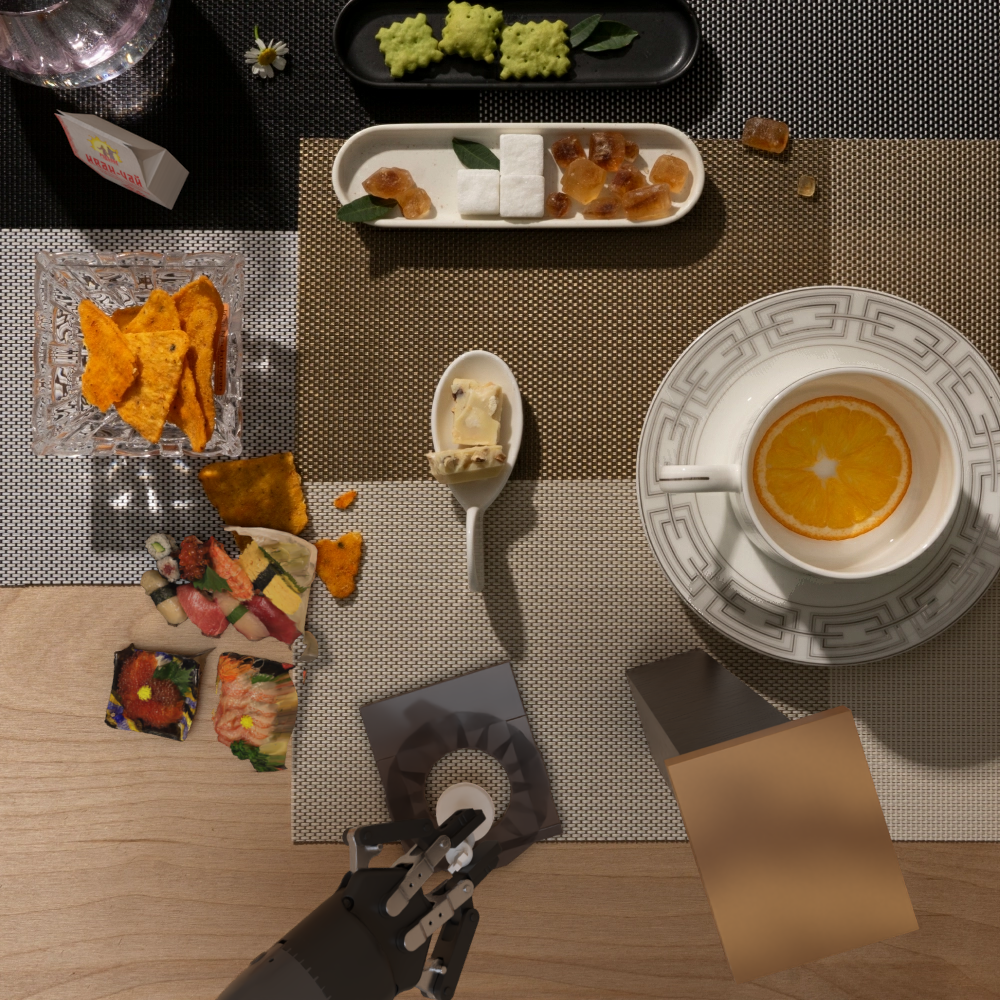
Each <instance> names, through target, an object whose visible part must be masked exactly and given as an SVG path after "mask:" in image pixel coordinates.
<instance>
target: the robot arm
mask: <svg viewBox="0 0 1000 1000" xmlns="http://www.w3.org/2000/svg"><path fill="white" fill-rule="evenodd" d="M485 820H486V817H485V815H484V813H483V811H482V809H477V810H474V809H473V808H468V809H460V810H457V811H455V812H454V813H453V814H452V815H451V816H450V817H449V818H448V819H446V820H445V821H444V822H443V823H442V824H441V825H440V826H439V827H438V828H436V829H435V828H434V826H433V823H432V821H431V820H430V819H428V818H424V819H416V820H413V819H408V820H400V821H393V822H392V821H387V822H379V823H369V824H364V825H356V826H348V827H346V828H345V829H344V830H343V832H342V835H341V839H342V842H343V844H344V845H345V846H347V847H348V853H349V854H348V855H349V870H348V871H347V872H346V873H345V874H344V875H343V876H342V878H341V880H340V883H339V885H338V887H337V888H336V890H335V891H334V892H333V893H332V894H331V895H330V896H329V897H328V898H326V899H325V900H323V901H322V902H321V903H320V904H319V905H318V906H317V907H315V908H314V909H313V910H312V911H311V912H310V913H309V914H307V915H306V916H305V917H304V918H303V919H302V920H300V921H299V922H298V923H297V924H296V925H294V927H292V928H291V929H290V930H289V931H288V932H286V933H285V935H283V936H282V937H280V939H278V940H277V941H276V942H275V943H273V945H271V946H270V947H269V948H268V949H267V950H266V951H263V952H261V953H260V954H258V955H257V956H256V957H255V958H254V959H252V960H251V962H250V963H249V964H248V966H247V967H246V968H245V969H244V970H242V971H241V972H240V973H239V974H238V975H237V976H235V978H234V979H233V980H231V981H230V983H229V984H228V985H227V986H226V987H225V988H224V989H223V990H222V991H221V992H220V993H219V994H218V996H217V997H216V998H215V999H214V1000H395V998H396V997H397V996H398V995H399V994H402V993H405V992H407V991H411V990H412V989H414V988H416V989H417V990H419V992H420V994H421V996H422V997H423V998H427V999H430V1000H453V997H454V996H455V993H456V989H457V987H458V984H459V980H460V979H461V976H462V972H463V969H464V967H465V964H466V960H467V958H468V954H469V951H470V948H471V945H472V942H473V940H474V936H475V934H476V931H477V928H478V925H479V922H480V912H479V911H478V909H477V908H475V906H474V901H473V894H474V891H475V889H476V888H477V887H478V886H479V885H480V884H481V882H483V881H484V880H485V879H486V878H487V876H488V875H489V874H490V873H491V872H492V871H493V870H495V869H494V868H495V867H496V866H497V864H498V861H499V858H498V855H499V854H500V853H501V851H502V848H501V846H500V844H499V842H498V841H497V840H491V841H484V842H482V843H480V844H479V845H478V846H477V847H476V848H475V849H474V850H473V851H472V852H473V856H472V860H471V862H470V863H469V864H468V865H467V866H465V867H462V868H460V869H459V871H458V872H457V871H456V870H455V871H454V872H453V873H451V872H450V874H451V876H452V877H450V878H446V879H444V880H443V881H442V882H440V883H439V884H438V885H437V886H435V887H434V888H433V889H432V890H431V891H429V892H428V893H424V890H423V887H422V886H424V884H426V882H427V880H428V879H429V878H430V877H431V876H432V875H433V874H434V873H433V872H434V867H435V866H436V865H437V863H438V862H439V861H440V860H441V859H442V858H443V857H444V856H445V854H446V853H447V852H448V851H449V850H450V848H456V847H457V846H458V845H459V844H460V843H462V842H463V841H464V840H465V839H466V838H467V837H468V836H469V835H470V834H471V833H472V832H473V831H474V830H475V829H476V828H477V827H479V826H480V825H481V824H482V823H483V822H484V821H485ZM408 839H411V840H412V841H414V842H415V843H416V844H415V845H414V846H413V847H412V848H411V849H410V850H409V851H408V853H406V854H403V855H401V856H400V857H398V858H397V859H396V860H395V861H394V862H393V864H391V865H390V866H389V867H388V866H387V867H385V866H384V867H369V866H370V863H371V860H372V859H373V858H375V857H378V856H379V855H380V854H381V853H382V851H383V849H384V844H388V843H394V842H401V840H408ZM438 929H440V930H439V932H438V933H439V934H438V936H437V939H436V942H435V944H434V947H433V950H432V952H431V955H430V957H429V958H427V956H428V953H429V949H430V945H431V943H432V939H433V935H434V933H435V932H436V931H437V930H438Z"/></svg>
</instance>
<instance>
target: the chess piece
mask: <svg viewBox="0 0 1000 1000" xmlns="http://www.w3.org/2000/svg"><path fill="white" fill-rule="evenodd" d="M468 808H473V809H474V810H477V809H482V811H483V813H484V815H485V817H486V820H485V821H484V822H483V823H482V824H481V825H480V826H479V827H477V828H476V829H475V830H474V831H473V832H472V833H471V834H470V835H469V836H468V837H467V838H466V839H465V840H464V841H463V842H462V843H460V844H459V845H458V846H457V847H456V848H450V850H449V851H448V852H447V853H446V854H445V855H446V859H447V861H448V863H449V864H450V865H449V867H448V871H449V872H448V873H450V874H451V873H453V872H454V871H455V870H456V871H457V872H458V871H459V869H460V868H462V867H465V866H467V865H468V864H469V863H470V862H471V860H472V856H473V852H472V848H473V846H474V844H475V841H477V840H479V839H481V838H482V837H483V836H484V835H485V834H486V833H487V832H488V831H489V829H490V827H491V825H493V824H494V820H495V814H496V812H495V811H496V809H495V804H494V801H493V799H492V797H491V795H490V794H489V793H488V791H487V790H486V789H485V788H484V787H482V786H481V785H479V784H477V783H473V782H470V781H469V782H468V781H463V782H462V781H461V782H457V783H454V784H452V785H450V786H448V787H447V788H446V789H445V790H443V792H442V793H441V794H440V795H439V798H438V800H437V802H436V806H435V814H436V815H435V817H436V818H437V822H438V825H439V826H440V825H441V824H442V823H443V822H444V821H445V820H446V819H448V818H449V817H450V816H451V815H452V814H453V813H454V812H455V811H457V810H460V809H468Z"/></svg>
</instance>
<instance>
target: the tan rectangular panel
mask: <svg viewBox="0 0 1000 1000" xmlns="http://www.w3.org/2000/svg"><path fill="white" fill-rule="evenodd" d="M664 763H665V766H666V769H667V773H668V776H669V779H670V782H671V785H672V789H673V792H674V795H675V798H676V800H675V802H676V801H677V802H676V804H677V808H678V811H679V813H680V817H681V820H682V823H683V827H684V830H685V833H686V837H687V840H688V844H689V846H690V849H691V852H692V855H693V859H694V861H695V865H696V868H697V871H698V874H699V878H700V881H701V884H702V887H703V890H704V891H703V892H704V894H705V897H706V900H707V904H708V907H709V909H710V913H711V916H712V919H713V923H714V926H715V928H716V929H715V930H716V932H717V936H718V938H719V942H720V944H721V948H722V951H723V954H724V957H725V960H726V964H727V967H728V970H729V973H730V976H731V978H732V981H733V982H734V984H735V985H736V986H738V985H741V984H744V983H747V982H751V981H755V980H758V979H761V978H764V977H767V976H771V975H774V974H778V973H780V972H784V971H788V970H790V969H793V968H798V967H800V966H804V965H807V964H810V963H814V962H817V961H819V960H820V961H821V960H823V959H827V958H830V957H833V956H837V955H840V954H843V953H846V952H850V951H853V950H857V949H860V948H863V947H867V946H869V945H870V946H871V945H872V944H876V943H879V942H882V941H885V940H889V939H892V938H895V937H898V936H903V935H906V934H909V933H912V932H915V931H919V930H920V926H919V923H918V920H917V917H916V914H915V910H914V907H913V904H912V901H911V897H910V894H909V891H908V888H907V885H906V882H905V878H904V875H903V872H902V869H901V865H900V862H899V859H898V855H897V852H896V850H895V846H894V843H893V840H892V837H891V833H890V830H889V828H888V824H887V821H886V818H885V814H884V811H883V808H882V805H881V801H880V799H879V795H878V792H877V788H876V785H875V782H874V779H873V776H872V772H871V770H870V766H869V763H868V760H867V757H866V754H865V750H864V747H863V744H862V741H861V738H860V734H859V731H858V728H857V725H856V722H855V719H854V716H853V712H852V709H850V708H848V707H846V705H844V704H842V705H839V706H835V707H831V708H829V709H825V710H822V711H819V712H816V713H812V714H810V715H809V714H808V715H806V716H802V717H799V718H796V719H793V720H791V721H790V722H786V723H783V724H780V725H777V726H773V727H770V728H767V729H764V730H760V731H757V732H754V733H751V734H747V735H744V736H741V737H738V738H734V739H731V740H728V741H725V742H721V743H718V744H715V745H712V746H708V747H705V748H702V749H699V750H695V751H692V752H689V753H686V754H682V755H679V756H676V757H673V758H669V759H666V760H664ZM675 798H674V799H675Z"/></svg>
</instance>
